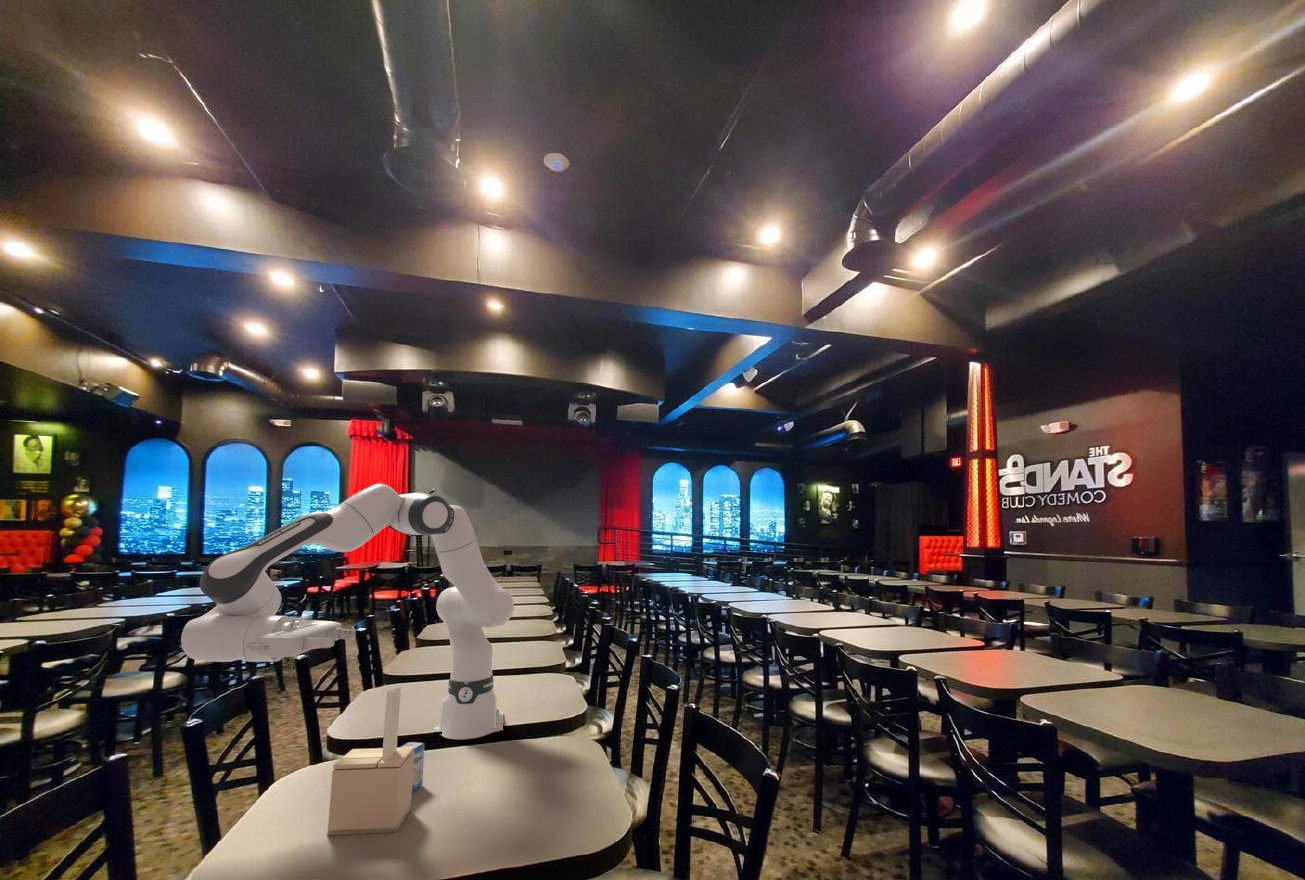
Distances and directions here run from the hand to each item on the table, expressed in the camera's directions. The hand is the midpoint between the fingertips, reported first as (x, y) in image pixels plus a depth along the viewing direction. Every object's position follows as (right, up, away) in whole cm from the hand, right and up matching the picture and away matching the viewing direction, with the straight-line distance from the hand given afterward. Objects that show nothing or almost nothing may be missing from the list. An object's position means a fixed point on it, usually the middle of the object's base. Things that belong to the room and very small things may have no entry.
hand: (343, 638), depth 113 cm
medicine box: (+11, -34, +3) cm, 36 cm away
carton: (+10, -32, -9) cm, 34 cm away
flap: (+14, -21, -6) cm, 26 cm away
